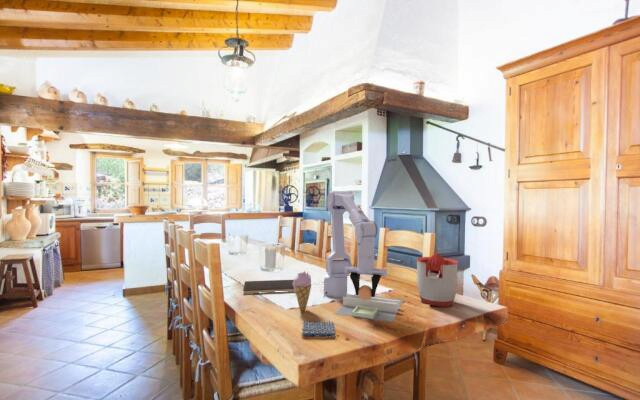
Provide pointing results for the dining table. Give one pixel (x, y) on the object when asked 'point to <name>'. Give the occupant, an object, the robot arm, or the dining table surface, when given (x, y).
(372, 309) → the dish
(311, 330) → the woven mat
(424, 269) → the citrus juicer
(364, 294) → the ball
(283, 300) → the dining table surface
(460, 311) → the dining table surface
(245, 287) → the hardcover book
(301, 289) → the ice cream cone
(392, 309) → the grey ridged board
